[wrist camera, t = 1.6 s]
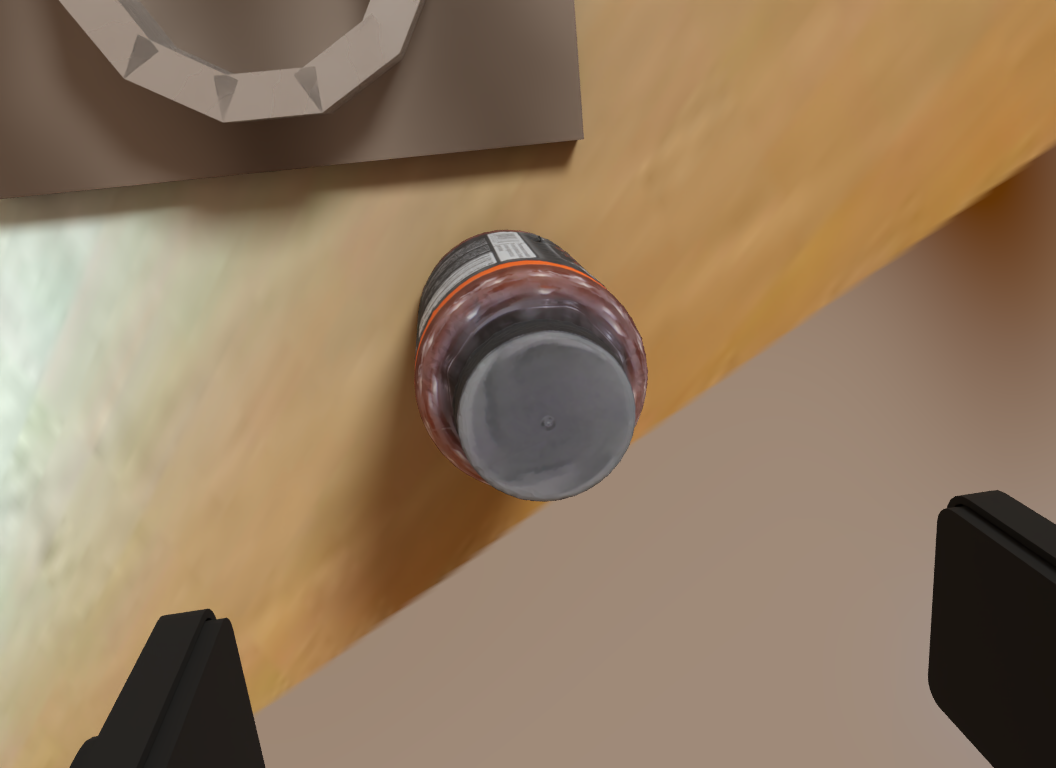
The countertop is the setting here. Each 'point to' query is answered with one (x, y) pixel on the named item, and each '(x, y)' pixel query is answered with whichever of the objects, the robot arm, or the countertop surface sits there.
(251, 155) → the holder board
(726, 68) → the countertop surface
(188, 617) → the robot arm
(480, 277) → the supplement bottle
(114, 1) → the steel collar
